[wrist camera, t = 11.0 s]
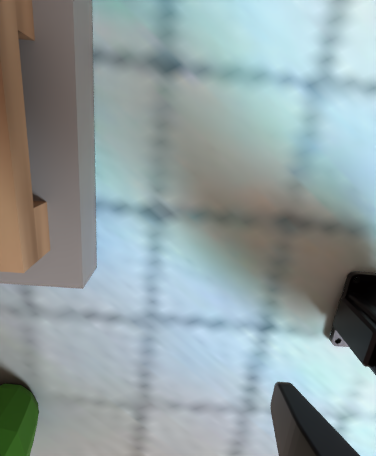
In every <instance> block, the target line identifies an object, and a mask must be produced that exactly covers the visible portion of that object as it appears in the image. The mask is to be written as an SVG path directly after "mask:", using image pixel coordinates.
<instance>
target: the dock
mask: <svg viewBox="0 0 376 456" xmlns="http://www.w3.org/2000/svg"><path fill="white" fill-rule="evenodd" d="M32 8H33V21H34V35H35V41H32V40H23V39H19V50H20V61H21V73H22V84H23V95H24V106H25V117H26V128H27V140H28V151H29V162H30V173H31V184H32V195H33V201H43V202H47V211H48V224H49V238H50V251H49V252H48V253H46V254H45V255H44V256H43V257H42V258H41V259H40V260H38V261H37V262H36V263H35V264H34V265H33V266H31V267H30V268H29V269H28V270H27V271H26V272H25V273H14V272H0V283H5V284H20V285H36V286H51V287H66V288H82V289H83V288H84V286H85V285H86V283H87V282H88V280H89V279H90V277H91V276H92V274H93V272H94V271H95V269H96V268H97V254H96V197H95V140H94V83H93V26H92V0H32Z"/></svg>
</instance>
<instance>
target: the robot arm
mask: <svg viewBox="0 0 376 456" xmlns="http://www.w3.org/2000/svg"><path fill="white" fill-rule="evenodd" d="M356 277H357V279H356V280H354V278H356ZM336 339H337V340H336ZM330 341H331V342H332V344H333V345H334V346H343V347H350V349H351V350H352V351H353V352H354V354H355V355H356V356H357V358H358V359H359V360H360V361H361V363H362V364H363V365H364V366H366V367H370V369H371V370H372V371H373V372H374V374H375V375H376V273H370V272H356V271H355V272H351V273H350V274H349V275H348V277H347V280H346V284H345V287H344V290H343V294H342V297H341V299H340V302H339V305H338V309H337V312H336V315H335V319H334V322H333V328H332V331H331V335H330ZM271 415H272V420H273V426H274V431H275V437H276V442H277V448H278V453H279V456H360V455H359V454H358V453H357V452H356V451H355V450H354V449H353V448H352V447H351V446H350V445H349V444H348V443H347V441H346V440H345V439H344V438H343V437H342V436H341V435H340V434H339V433H338V432H337V431H336V430H335V429H334V428H333V427H332V426H331V425H330V424H329V423H328V422H327V420H326V419H325V418H324V417H323V416H322V415H321V414H320V413H319V412H318V411H317V410H316V409H315V408H314V407H313V406H312V405H311V404H310V403H309V402H308V401H307V399H306V398H305V397H304V396H303V395H302V394H301V393H300V392H299V391H298V390H297V389H296V388H295V387H294V386H293V385H292V384H291V383H288V382H277V383H276V384H275V386H274V391H273V395H272V400H271Z"/></svg>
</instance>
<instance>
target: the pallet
mask: <svg viewBox="0 0 376 456" xmlns="http://www.w3.org/2000/svg"><path fill="white" fill-rule="evenodd" d="M19 39H23V40H32V41H35V35H34V21H33V8H32V0H0V272H14V273H25V272H26V271H27V270H28V269H29V268H30V267H31V266H33V265H34V264H35V263H36V262H37V261H38V260H40V259H41V258H42V257H43V256H44V255H45V254H46V253H48V252H49V251H50V238H49V224H48V211H47V202H43V201H33V195H32V184H31V173H30V162H29V151H28V140H27V128H26V117H25V106H24V95H23V84H22V73H21V61H20V50H19Z"/></svg>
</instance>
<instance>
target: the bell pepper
mask: <svg viewBox="0 0 376 456" xmlns="http://www.w3.org/2000/svg"><path fill="white" fill-rule="evenodd" d="M38 414H39V410H38V403H37V401H36V400H35V398H34V396H33V394H32V393H31V392H30V391H29V390H27V389H26V388H24V387H23V386H22V385H15V384H3V385H1V386H0V456H30V452H31V448H32V445H33V441H34V436H35V431H36V426H37V421H38Z"/></svg>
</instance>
